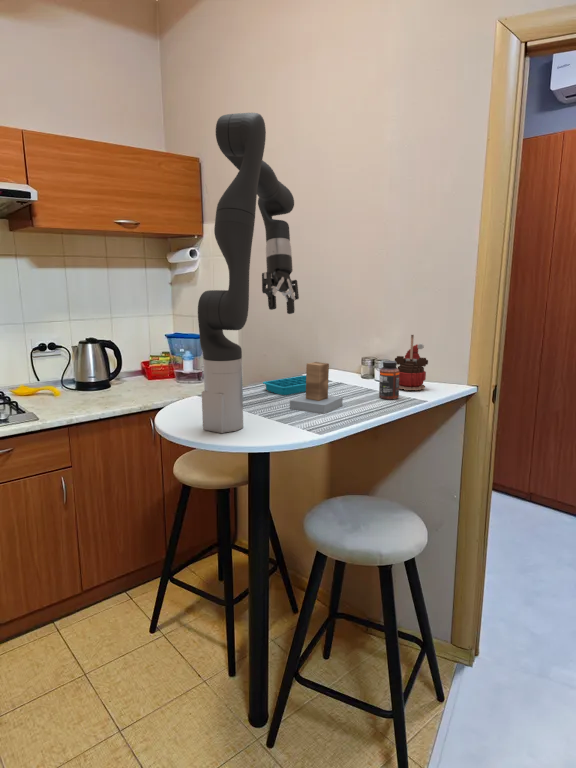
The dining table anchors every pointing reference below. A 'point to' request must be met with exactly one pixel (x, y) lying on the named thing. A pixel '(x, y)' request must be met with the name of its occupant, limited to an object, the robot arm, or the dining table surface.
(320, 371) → the walnut post
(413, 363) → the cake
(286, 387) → the ice cube tray
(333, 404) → the base block
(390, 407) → the dining table surface
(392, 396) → the supplement bottle
